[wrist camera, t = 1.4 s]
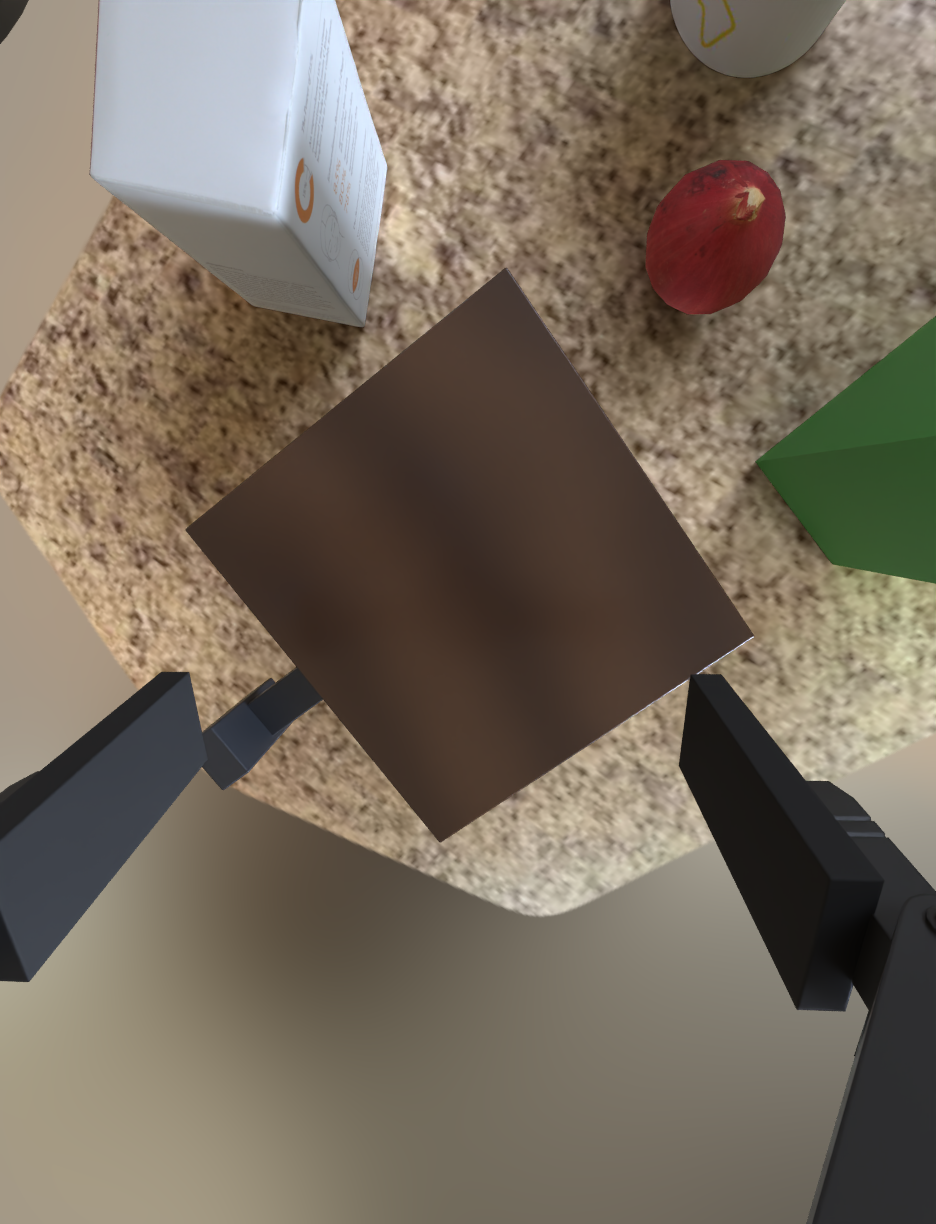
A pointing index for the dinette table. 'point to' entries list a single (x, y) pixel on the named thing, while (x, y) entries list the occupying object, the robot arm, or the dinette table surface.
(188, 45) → the small box
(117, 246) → the dinette table surface
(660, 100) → the dinette table surface
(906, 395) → the green and white box
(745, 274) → the onion
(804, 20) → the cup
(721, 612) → the cabinet
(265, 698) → the drawer
